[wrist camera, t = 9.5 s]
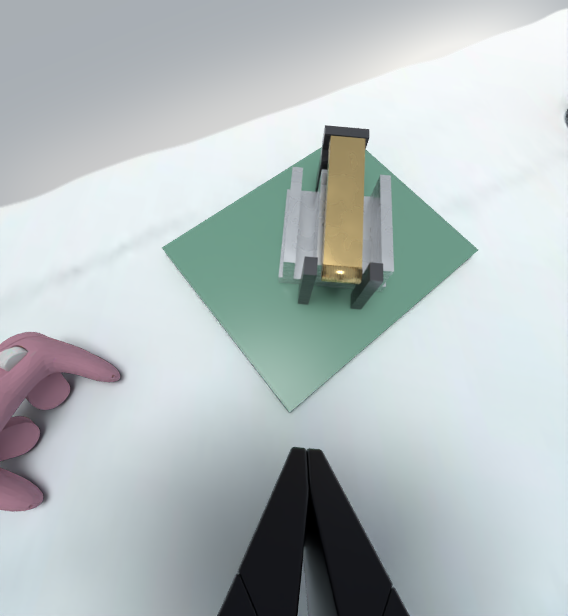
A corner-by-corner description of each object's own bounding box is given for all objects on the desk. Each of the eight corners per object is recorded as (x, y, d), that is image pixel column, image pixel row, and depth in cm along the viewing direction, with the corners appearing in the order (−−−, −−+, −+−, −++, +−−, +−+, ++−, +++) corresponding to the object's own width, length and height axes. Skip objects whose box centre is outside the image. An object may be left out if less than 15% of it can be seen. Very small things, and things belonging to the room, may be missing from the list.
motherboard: (471, 255, 27) (478, 249, 26) (289, 412, 22) (289, 412, 21) (343, 140, 30) (345, 131, 29) (166, 253, 26) (162, 247, 25)
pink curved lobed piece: (98, 352, 25) (0, 311, 19) (131, 371, 22) (30, 329, 17) (12, 481, 22) (-135, 476, 16) (39, 519, 19) (-122, 529, 14)
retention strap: (357, 286, 20) (362, 281, 19) (320, 283, 20) (322, 277, 19) (361, 148, 23) (365, 136, 22) (328, 145, 23) (331, 133, 22)
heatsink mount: (382, 311, 24) (410, 283, 19) (276, 301, 24) (276, 271, 19) (379, 182, 28) (402, 132, 23) (289, 174, 28) (292, 122, 23)
